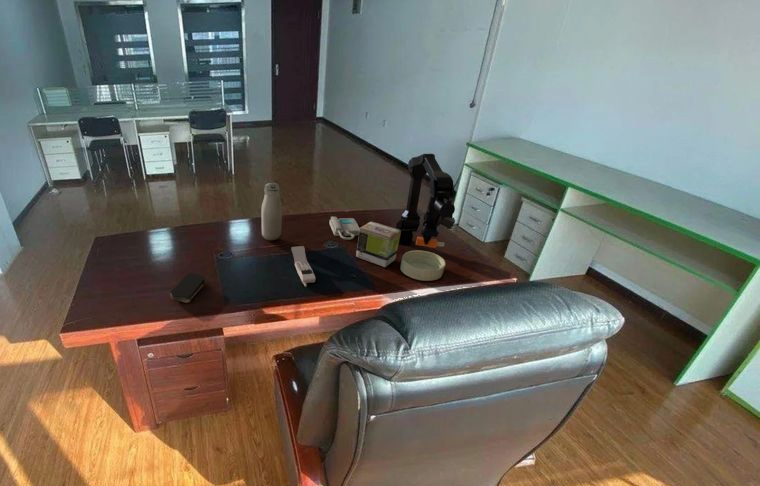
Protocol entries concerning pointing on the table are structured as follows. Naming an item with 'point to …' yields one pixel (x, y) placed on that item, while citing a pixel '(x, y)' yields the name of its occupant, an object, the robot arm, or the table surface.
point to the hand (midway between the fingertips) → (426, 242)
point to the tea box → (378, 243)
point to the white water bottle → (271, 212)
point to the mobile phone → (302, 265)
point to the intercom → (344, 227)
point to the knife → (431, 243)
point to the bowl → (422, 265)
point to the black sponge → (187, 287)
